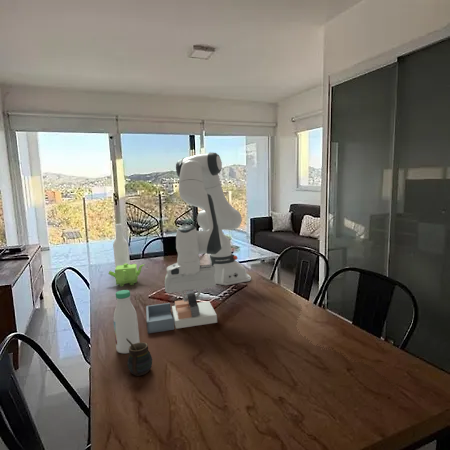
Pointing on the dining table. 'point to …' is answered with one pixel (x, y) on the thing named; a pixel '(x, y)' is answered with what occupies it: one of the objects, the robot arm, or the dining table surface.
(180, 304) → the tile back
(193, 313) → the two-tone stepped block
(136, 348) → the mate gourd
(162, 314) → the tray
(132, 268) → the kettle
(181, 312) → the tile front
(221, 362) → the dining table surface
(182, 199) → the robot arm
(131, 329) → the milk bottle
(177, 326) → the board
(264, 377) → the dining table surface
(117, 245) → the alcohol
